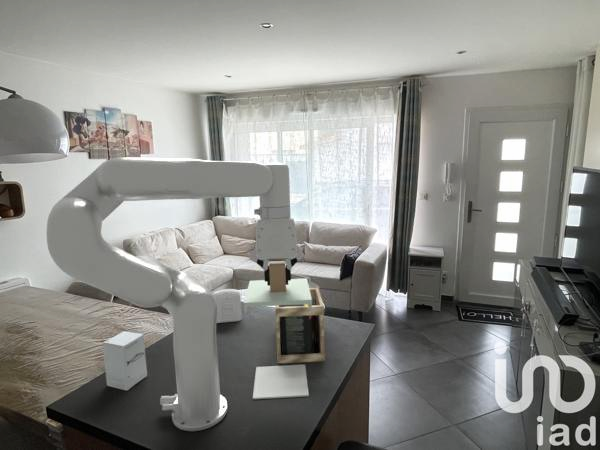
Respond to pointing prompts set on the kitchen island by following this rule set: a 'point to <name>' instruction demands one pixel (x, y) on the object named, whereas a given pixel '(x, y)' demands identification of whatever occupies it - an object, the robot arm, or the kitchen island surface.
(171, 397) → the robot arm
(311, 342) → the tampon box
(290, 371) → the mat
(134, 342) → the supplement box
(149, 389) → the kitchen island surface
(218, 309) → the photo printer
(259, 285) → the lid
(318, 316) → the crate
